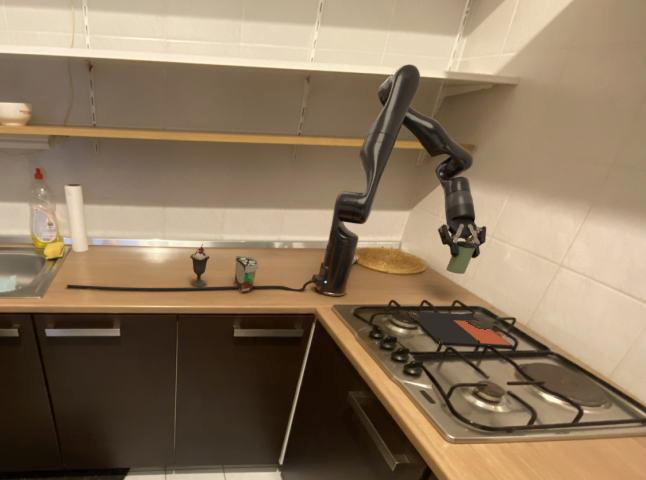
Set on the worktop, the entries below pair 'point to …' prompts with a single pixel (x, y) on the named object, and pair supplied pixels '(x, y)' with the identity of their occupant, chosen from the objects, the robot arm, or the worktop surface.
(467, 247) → the tea tin
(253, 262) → the food container
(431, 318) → the corner mat
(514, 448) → the worktop surface
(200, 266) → the sundae
